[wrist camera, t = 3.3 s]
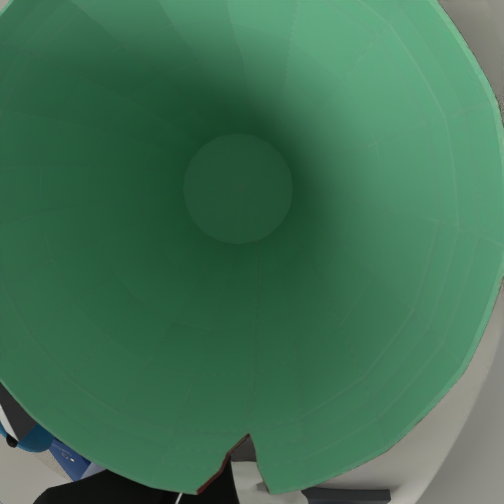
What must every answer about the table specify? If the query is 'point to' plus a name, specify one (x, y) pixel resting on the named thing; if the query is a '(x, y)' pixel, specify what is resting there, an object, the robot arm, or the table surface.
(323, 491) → the control block
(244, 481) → the white animal figurine
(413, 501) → the table surface
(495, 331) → the table surface
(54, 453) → the cell phone
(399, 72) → the mug
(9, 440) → the ornament
